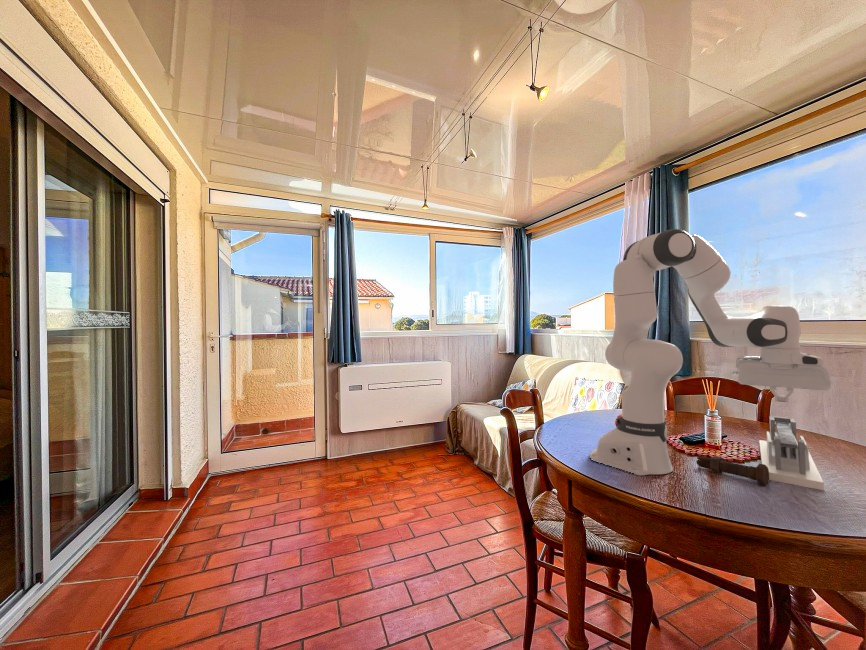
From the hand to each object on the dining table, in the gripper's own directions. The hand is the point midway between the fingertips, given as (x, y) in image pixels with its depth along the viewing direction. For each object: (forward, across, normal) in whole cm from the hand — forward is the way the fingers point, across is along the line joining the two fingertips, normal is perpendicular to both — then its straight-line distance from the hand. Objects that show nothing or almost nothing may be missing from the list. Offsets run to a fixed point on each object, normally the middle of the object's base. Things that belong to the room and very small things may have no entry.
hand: (781, 401), depth 106 cm
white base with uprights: (+18, 0, -6) cm, 19 cm away
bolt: (+19, -12, -24) cm, 33 cm away
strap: (+9, 0, -6) cm, 11 cm away
